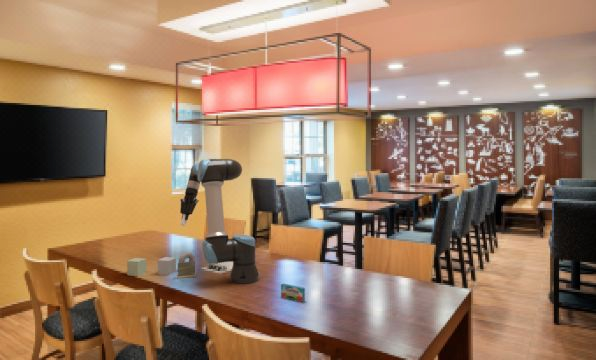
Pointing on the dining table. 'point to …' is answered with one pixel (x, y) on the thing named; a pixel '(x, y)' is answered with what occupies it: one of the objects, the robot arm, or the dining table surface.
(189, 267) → the card
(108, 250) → the dining table surface
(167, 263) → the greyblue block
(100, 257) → the dining table surface
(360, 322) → the dining table surface
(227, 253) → the robot arm
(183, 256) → the donut
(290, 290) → the flat green printed box
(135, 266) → the sage block
